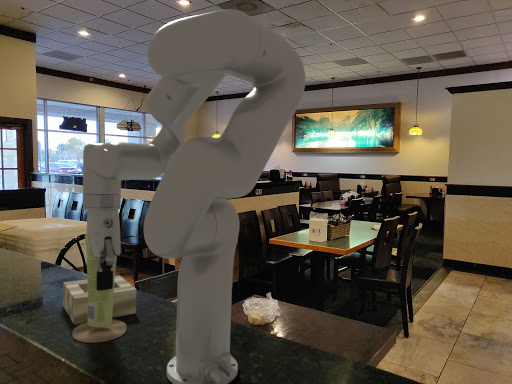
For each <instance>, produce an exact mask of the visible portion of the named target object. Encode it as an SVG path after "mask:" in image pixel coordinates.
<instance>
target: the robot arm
mask: <svg viewBox="0 0 512 384" xmlns="http://www.w3.org/2000/svg"><path fill="white" fill-rule="evenodd" d="M147 61H148V64H149V67H150V68H151V69H152V71H153V72H154V73H156V74H157V75H158V76H160V78H159V79H158V80H157V82H156V83H155V84H154V86H153V88H152V89H151V90H150V91H149V93H148V94H147V95H146V97H145V105H146V106H145V107H146V109H147V110H148V113H149V114H150V115H151V116H152V118H153V119H154V120H155V121H156V122H157V123H159V125H161V128H160V130H159V132H158V133H157V134H156V135H155V137H154V138H153V139H152V141H151V142H150V143H149V144H148V143H147V144H146V143H137V142H124V141H108V142H106V143H105V142H104V143H98V142H97V143H87V144H86V145H85V146H84V147H83V150H82V151H83V152H82V154H83V155H82V163H83V164H82V165H83V166H82V210H83V211H84V210H86V211H87V215H86V234H88V239H89V244H90V249H91V253H92V254H93V255H94V256H96V257H98V271H97V285H96V289H97V290H98V291H101V290H108V289H112V288H113V261H114V255H113V253H114V254H116V255H115V256H117V257H119V256H120V255H121V253H122V252H121V248H122V247H121V246H122V245H121V228H120V227H121V225H120V215H119V210H121V207H122V206H121V205H122V202H121V200H122V197H121V196H122V181H130V180H135V181H136V180H140V181H141V180H142V181H143V180H144V181H146V180H149V181H150V180H153V179H158V178H159V177H160V176H162V177H161V179H160V181H159V182H158V185H157V187H156V190H155V192H154V193H153V196H152V198H151V200H150V203H149V205H148V208H147V210H146V213H145V218H144V221H143V236H144V240H145V244H146V245H147V247H148V249H149V250H150V252H151V253H153V254H154V255H156V256H157V257H159V258H162V259H169V260H170V259H179V258H180V259H181V260H180V264H179V269H178V274H177V275H178V276H177V291H176V292H177V297H176V301H177V302H176V334H175V337H176V339H175V356H174V357H172V358H171V359H170V360H169V361H168V363H167V365H166V371H165V372H166V377H167V379H168V380H169V381H170V382H171V383H172V384H229V383H231V382H232V381H234V380H235V379H236V377H237V375H238V373H239V371H238V370H239V364H238V362H237V360H236V359H235V358H234V357H233V356H232V354H231V353H230V351H231V319H232V298H233V297H232V294H233V293H232V291H233V290H232V289H233V274H234V273H233V272H234V261H235V253H236V248H237V243H238V240H239V238H238V237H239V235H240V234H239V233H240V218H239V214H238V213H239V212H238V211H237V209H236V207H235V206H234V204H233V203H232V202H231V201H230V200H229V199H235V198H241V197H244V196H246V195H248V194H249V193H251V191H252V190H253V189H254V187H255V186H256V184H257V183H258V180H259V179H260V177H261V176H262V173H263V171H264V170H265V168H266V166H267V163H268V162H269V160H270V159H271V156H272V155H273V153H274V151H275V149H276V147H277V145H278V143H279V141H280V139H281V137H282V135H283V133H284V131H285V129H286V128H287V126H288V125H289V123H290V121H291V119H292V118H293V116H294V114H295V113H296V111H297V109H298V107H299V105H300V103H301V101H302V99H303V95H304V92H305V88H306V87H305V86H306V73H305V66H304V64H303V61H302V58H301V57H300V55H299V53H298V52H297V50H296V49H295V48H294V47H293V45H292V44H291V43H290V42H289V41H288V40H286V39H285V38H284V37H283V36H281V35H280V34H279V33H277V32H275V31H274V30H272V29H271V28H270V27H268V26H266V25H264V24H263V23H261V22H260V21H258V20H257V19H255V18H254V17H252V16H250V15H248V14H247V13H245V12H242V11H240V10H237V9H230V8H229V9H226V8H225V9H218V10H213V11H210V12H205V13H200V14H196V15H192V16H191V15H190V16H187V17H183V18H179V19H176V20H174V21H170V22H168V23H167V24H165V25H163V26H161V27H160V28H159V29H158V30H156V32H155V33H154V34H153V36H152V38H151V39H150V41H149V43H148V48H147ZM226 75H229V76H231V77H234V78H237V79H240V80H242V81H245V82H248V83H250V84H251V85H252V87H253V89H252V90H251V91H250V92H249V93H248V94H247V95H246V96H245V97H244V98H243V99H242V100H241V101H240V102H239V103H238V105H237V106H236V107H235V109H234V111H233V113H232V114H231V117H230V119H229V121H228V123H227V125H226V126H225V128H224V130H223V132H222V133H221V135H220V136H219V137H211V136H197V137H192V138H190V139H188V140H186V141H185V137H186V133H185V132H186V131H185V127H186V125H187V124H188V122H189V120H191V118H192V117H193V116H194V114H196V112H197V111H198V110H199V109H200V108H201V106H202V105H203V104H204V103H205V102H206V101H207V99H208V98H209V97H210V96H211V94H212V93H213V92H214V91H215V89H216V88H217V87H219V85H220V84H221V83H222V81H223V80H224V78H225V77H226ZM112 247H113V249H114V252H113V249H112ZM103 253H105V255H106V256H101V254H103ZM102 259H105V261H103V262H102Z"/></svg>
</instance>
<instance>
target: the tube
mask: <svg viewBox="0 0 512 384" xmlns="http://www.w3.org/2000/svg"><path fill="white" fill-rule="evenodd" d="M84 240H85V241H84V242H85V251H86V255H85V256H86V270H87V272H86V273H87V274H86V275H87V277H86V280H87V282H88V325H89V326H92V327H103V326H107V325H109V324H111V322H112V320H113V318H112V311H113V294H114V281H115V276H116V269H117V258H118V256H115V255H116V254H114V253H113V255H114V261H113V288H112V289H108V290H101V291H98V290H97V289H96V285H97V271H98V257H96V256H94V255H93V254H92V253H91V249H90V244H89V239H88V234H87V233H84ZM112 249H113V247H112ZM113 252H114V249H113ZM101 256H106V255H105V253H103V254H101ZM103 261H105V259H102V262H103Z"/></svg>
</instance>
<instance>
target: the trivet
mask: <svg viewBox="0 0 512 384" xmlns="http://www.w3.org/2000/svg"><path fill="white" fill-rule="evenodd" d="M127 330H128V327H127V324H126V323H125V322H124V321H121V320H118V319H112V322H111V324H109V325H107V326H103V327H92V326H89V325H88V322H86V323H81V324H78V325H77V326H76V327H74V328H73V330H72V331H71V332H72V334H71V335H72V338H73V339H74V340H75V339H76V340H75V341H77V342H80V343H87V344H88V343H89V344H90V343H91V344H93V343H105V342H109V341H113V340H115V339H118V338H120V337H122V336H123V335H124V334H126V332H127Z"/></svg>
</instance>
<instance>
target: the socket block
mask: <svg viewBox="0 0 512 384" xmlns="http://www.w3.org/2000/svg"><path fill="white" fill-rule="evenodd" d="M62 288H63V289H62V306H63V308H64V310H65V311H66V313H67V315H68V317H69V319H70V320H71V321H72V323H73V325H74V326H76V325H81V324H84V323H87V322H88V282H87V279H80V280H72V281H65V282H63V283H62ZM136 313H137V288H136V287H134V286H133V285H132V284H130V282H128V281H127V280H126V279H124V278H123V277H122V276H121V275H115V281H114V294H113V311H112V319H113V318H117V317H123V316H128V315H133V314H136Z"/></svg>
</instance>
